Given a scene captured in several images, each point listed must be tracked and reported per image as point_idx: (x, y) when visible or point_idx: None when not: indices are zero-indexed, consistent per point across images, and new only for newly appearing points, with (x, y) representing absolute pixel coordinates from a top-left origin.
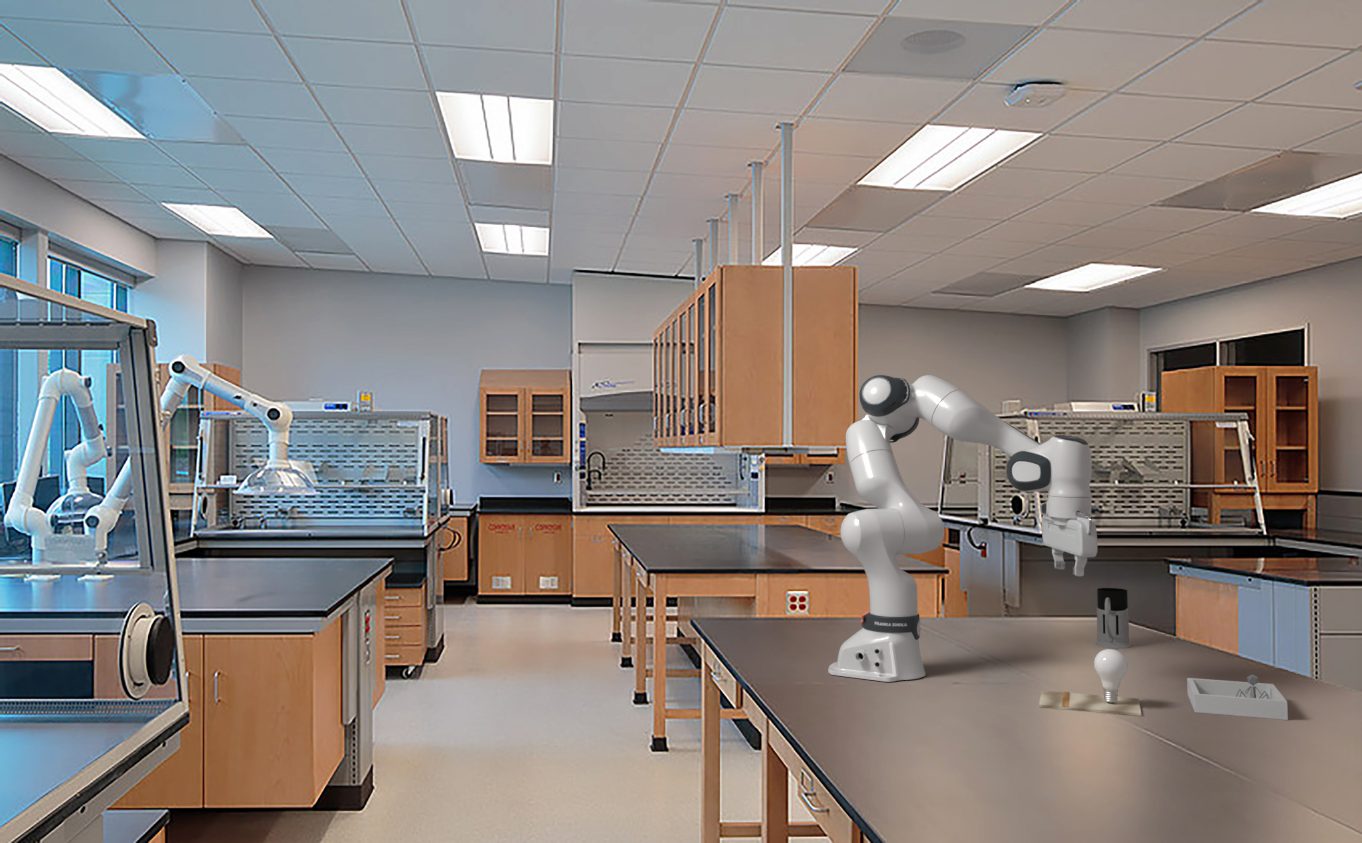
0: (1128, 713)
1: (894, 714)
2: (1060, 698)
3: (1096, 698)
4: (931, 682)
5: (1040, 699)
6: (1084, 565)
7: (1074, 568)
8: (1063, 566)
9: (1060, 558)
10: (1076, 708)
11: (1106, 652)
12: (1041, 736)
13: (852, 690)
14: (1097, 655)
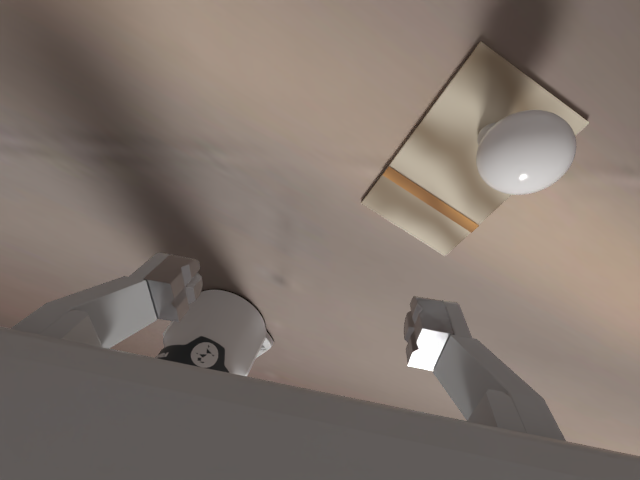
0: None
1: (413, 393)
2: (421, 204)
3: (445, 141)
4: (275, 304)
5: (416, 237)
6: (495, 360)
7: (430, 364)
8: (190, 271)
9: (131, 302)
10: (488, 214)
11: (543, 183)
12: (581, 329)
13: (305, 380)
14: (511, 192)
